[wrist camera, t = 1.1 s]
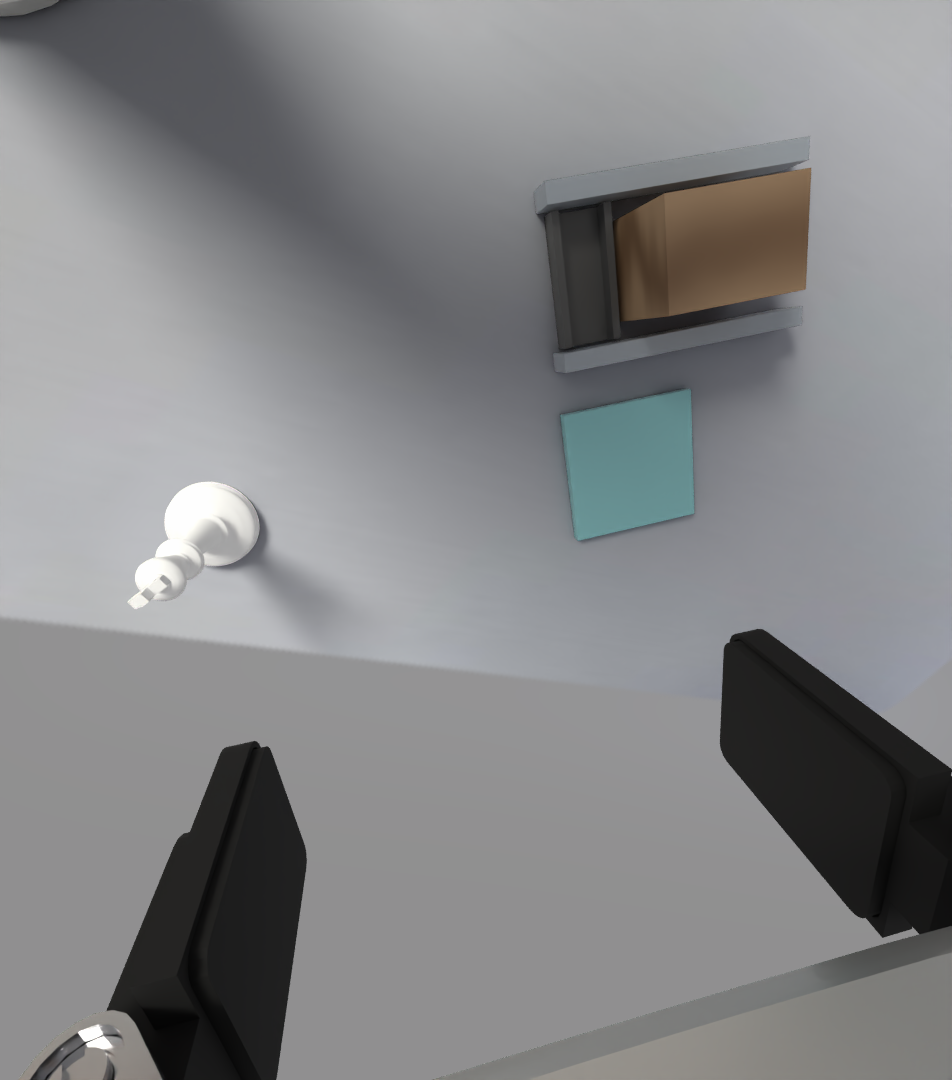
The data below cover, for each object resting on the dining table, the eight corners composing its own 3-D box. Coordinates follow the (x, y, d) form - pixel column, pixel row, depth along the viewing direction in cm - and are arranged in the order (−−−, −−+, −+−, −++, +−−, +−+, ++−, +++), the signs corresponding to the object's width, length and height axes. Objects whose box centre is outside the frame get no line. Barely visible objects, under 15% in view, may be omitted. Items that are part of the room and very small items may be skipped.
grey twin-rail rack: (533, 192, 27) (544, 180, 26) (782, 149, 29) (810, 136, 27) (554, 371, 31) (566, 373, 29) (777, 326, 32) (801, 325, 30)
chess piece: (278, 530, 31) (233, 608, 22) (212, 578, 31) (142, 675, 22) (216, 464, 29) (139, 518, 20) (147, 515, 30) (40, 592, 20)
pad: (560, 414, 32) (563, 415, 31) (685, 388, 32) (690, 389, 32) (574, 537, 34) (577, 540, 34) (689, 510, 35) (694, 513, 35)
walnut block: (609, 223, 29) (664, 193, 23) (729, 202, 29) (811, 167, 24) (616, 322, 30) (669, 316, 25) (729, 299, 31) (805, 289, 25)
